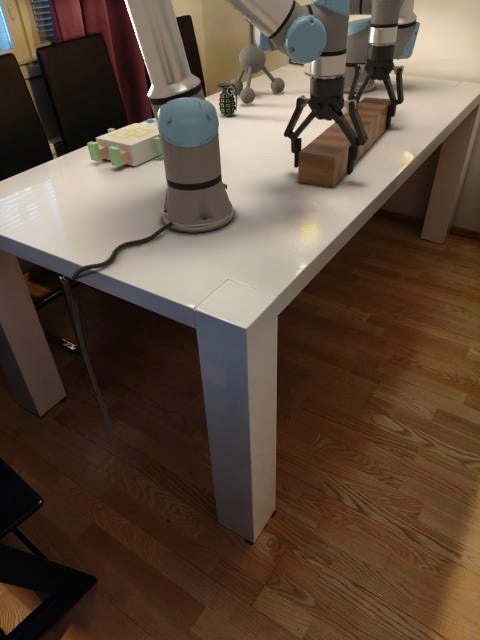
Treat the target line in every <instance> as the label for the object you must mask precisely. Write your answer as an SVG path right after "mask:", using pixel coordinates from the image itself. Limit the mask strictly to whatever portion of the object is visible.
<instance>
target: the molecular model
mask: <svg viewBox="0 0 480 640" xmlns="http://www.w3.org/2000/svg"><path fill="white" fill-rule="evenodd" d="M243 19H244V21H245V22H246V23H248V33H249V36H248V37H249V44H246V45H245V46H244V47H243V48H241V51H240V52H239V56H238V62H239V66H240V68H241V69H240V72H239V74H238V76H237V77H235V78H232V79H231V80H230V81H229V83H233V84H234V85H235V87H236V90H237V95H238V94H239V93H240V94H239V98H240V100H241V102H242V103H244V104H246V105H249V104H251V103H253V102H254V101H255V98H256V92H255V90H254V89H253V87H251V84H252V75H256V74H258V73H260V72H261V71H263V73H264V74H265V75H266V76H267V77H268V79H269V80H270V81H271V82H270V89H271V91H272V92H273V93H274V94H281V93H282V92H283V91H284V90H285V87H286V83H285V81H284V80H283V78H281V77H274V76H273V74H272V73H271V72H270V70H269V69H268V68H267V67H266V65H265V64H266V60H267V59H266V58H267V57H266V53H265V51H260V50H259V49H258V47H257V45H256V43H254V41H255V40H254V39H255V34H254V25H252V24H251V23H250V22H249V21H248V20H247V19H246V18H245V17H243ZM245 73H247V78H246V83H245V84H246V85H245V87H244V83H243V81H242V78H243V76H244V74H245ZM233 92H234V94H235V91H234V90H232V91H231V93H233Z"/></svg>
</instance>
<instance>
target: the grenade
mask: <svg viewBox="0 0 480 640" xmlns="http://www.w3.org/2000/svg"><path fill="white" fill-rule="evenodd" d="M215 87H217V88H219V89H221V93H219V97H218V101H219V102H218V106H219V108H218V109H219V112H220V114H221V115H222V116H224V117H231V116H233V115H234V113H235V112H236V111H237V108H238V94H237V90H236V87H235V85H234V84H233V83H230V82H218V83H217V84H216V86H215ZM232 90H234V91H235V93H234V92H231V91H232ZM234 94H235V96H234Z"/></svg>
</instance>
